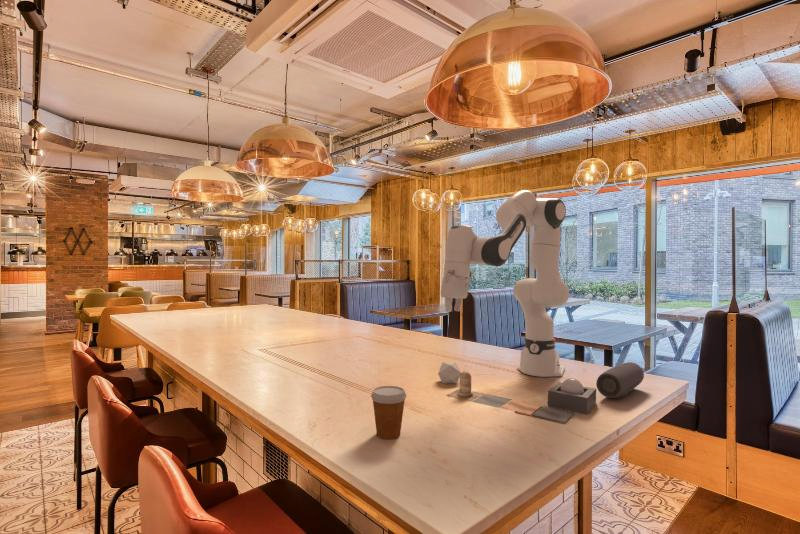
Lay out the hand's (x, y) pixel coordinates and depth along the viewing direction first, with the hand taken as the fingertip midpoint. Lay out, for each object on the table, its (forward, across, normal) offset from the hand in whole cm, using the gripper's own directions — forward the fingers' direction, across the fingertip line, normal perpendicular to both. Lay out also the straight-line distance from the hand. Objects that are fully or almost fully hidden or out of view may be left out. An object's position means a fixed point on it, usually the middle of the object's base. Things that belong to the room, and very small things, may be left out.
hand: (452, 311), depth 151 cm
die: (+28, +17, +4) cm, 33 cm away
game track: (+28, +1, -20) cm, 35 cm away
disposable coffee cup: (+33, -36, +4) cm, 49 cm away
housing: (+26, +10, -40) cm, 49 cm away
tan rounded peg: (+28, +4, -6) cm, 29 cm away
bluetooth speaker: (+24, +30, -55) cm, 67 cm away
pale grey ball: (+24, +10, -40) cm, 48 cm away
